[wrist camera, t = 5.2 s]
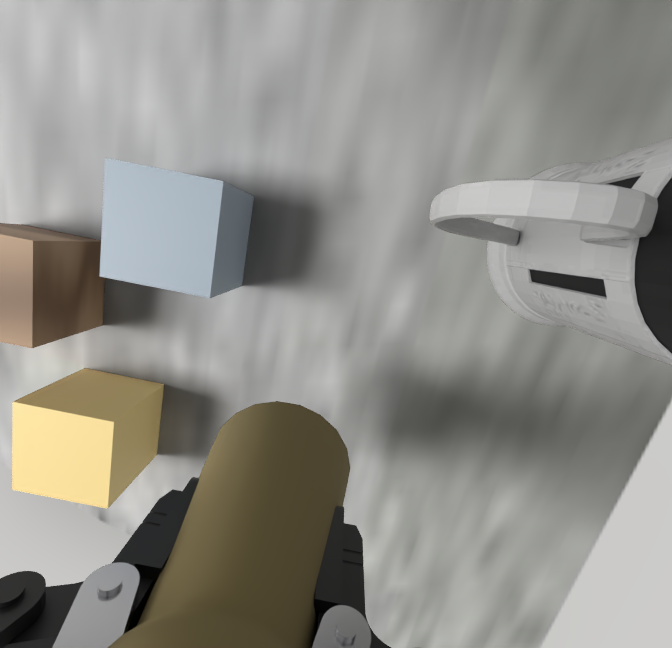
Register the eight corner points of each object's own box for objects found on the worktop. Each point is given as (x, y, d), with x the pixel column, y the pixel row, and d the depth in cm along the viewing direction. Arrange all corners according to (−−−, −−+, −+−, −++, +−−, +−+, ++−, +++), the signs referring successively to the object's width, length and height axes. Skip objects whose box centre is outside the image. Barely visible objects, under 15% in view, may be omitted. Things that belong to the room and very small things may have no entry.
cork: (350, 402, 15) (351, 835, 4) (349, 527, 16) (347, 1099, 5) (205, 399, 15) (-161, 802, 4) (216, 523, 16) (-41, 1062, 6)
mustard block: (85, 367, 22) (12, 401, 18) (164, 383, 22) (113, 422, 18) (81, 438, 24) (12, 489, 19) (157, 453, 24) (107, 508, 19)
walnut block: (22, 224, 21) (-80, 218, 16) (107, 241, 21) (33, 240, 16) (22, 308, 22) (-73, 327, 17) (103, 324, 22) (32, 348, 17)
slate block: (165, 179, 20) (105, 157, 15) (254, 196, 20) (223, 181, 15) (157, 268, 21) (99, 276, 16) (242, 285, 21) (209, 298, 16)
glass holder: (623, 335, 21) (1286, 554, 6) (378, 303, 21) (446, 444, 6) (673, 173, 19) (1821, -76, 4) (402, 140, 19) (586, -218, 4)
